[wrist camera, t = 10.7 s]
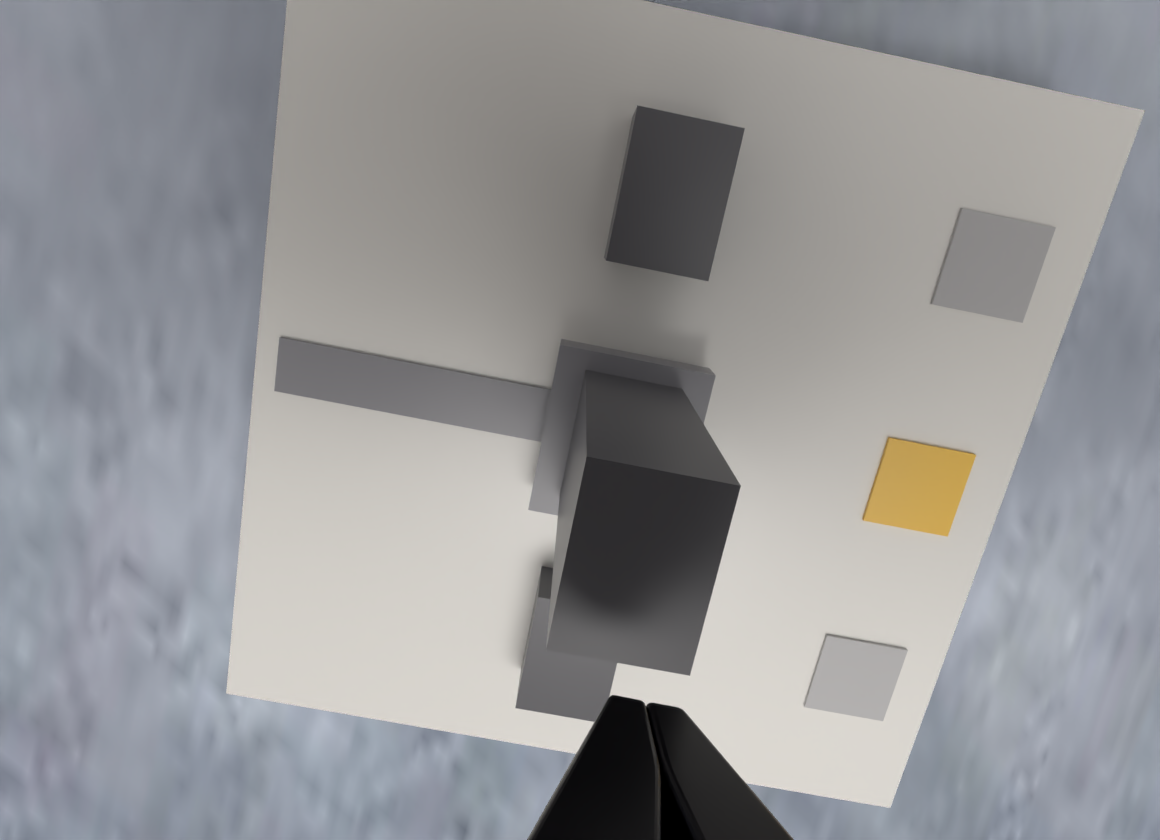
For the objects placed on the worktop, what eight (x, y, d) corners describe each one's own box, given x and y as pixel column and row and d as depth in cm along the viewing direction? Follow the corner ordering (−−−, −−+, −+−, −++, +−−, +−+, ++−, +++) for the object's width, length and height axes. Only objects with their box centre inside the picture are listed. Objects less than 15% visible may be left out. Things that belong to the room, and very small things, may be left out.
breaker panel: (1053, 129, 18) (1205, 97, 13) (849, 730, 22) (915, 855, 18) (343, -25, 17) (260, -112, 13) (275, 629, 21) (195, 733, 17)
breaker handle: (709, 367, 16) (794, 465, 9) (670, 522, 17) (725, 708, 10) (561, 338, 16) (545, 416, 9) (531, 496, 16) (497, 668, 10)
